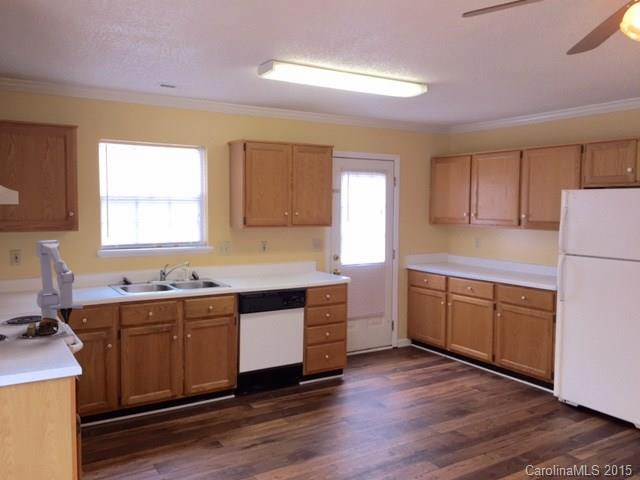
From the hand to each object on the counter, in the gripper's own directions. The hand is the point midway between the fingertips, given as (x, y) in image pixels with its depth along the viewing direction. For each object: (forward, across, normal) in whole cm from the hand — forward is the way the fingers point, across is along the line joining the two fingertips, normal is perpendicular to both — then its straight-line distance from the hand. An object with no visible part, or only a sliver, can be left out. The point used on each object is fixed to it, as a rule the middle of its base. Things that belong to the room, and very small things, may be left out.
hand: (66, 323), depth 264 cm
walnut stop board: (+3, -16, 0) cm, 16 cm away
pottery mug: (+4, -8, 0) cm, 9 cm away
